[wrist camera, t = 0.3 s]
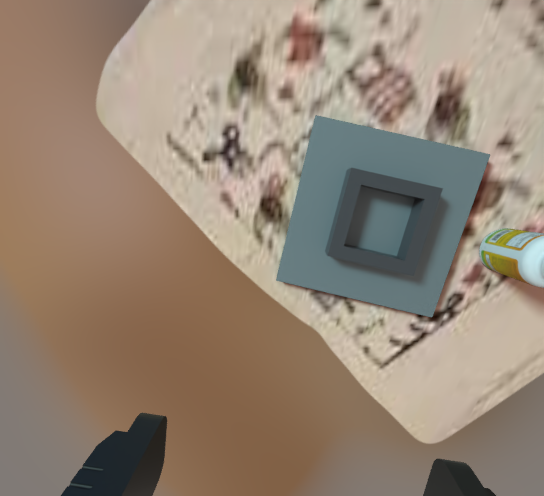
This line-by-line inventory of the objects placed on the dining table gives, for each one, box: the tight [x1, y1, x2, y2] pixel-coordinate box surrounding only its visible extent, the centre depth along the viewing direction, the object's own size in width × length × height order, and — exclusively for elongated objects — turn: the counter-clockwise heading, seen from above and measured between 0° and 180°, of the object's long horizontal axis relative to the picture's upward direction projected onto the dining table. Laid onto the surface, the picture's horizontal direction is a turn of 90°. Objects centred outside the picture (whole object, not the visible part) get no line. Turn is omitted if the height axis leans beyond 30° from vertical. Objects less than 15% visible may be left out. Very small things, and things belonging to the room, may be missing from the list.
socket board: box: [276, 115, 490, 317], centre depth 34 cm, size 20×20×4 cm
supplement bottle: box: [479, 229, 544, 288], centre depth 31 cm, size 5×5×10 cm
